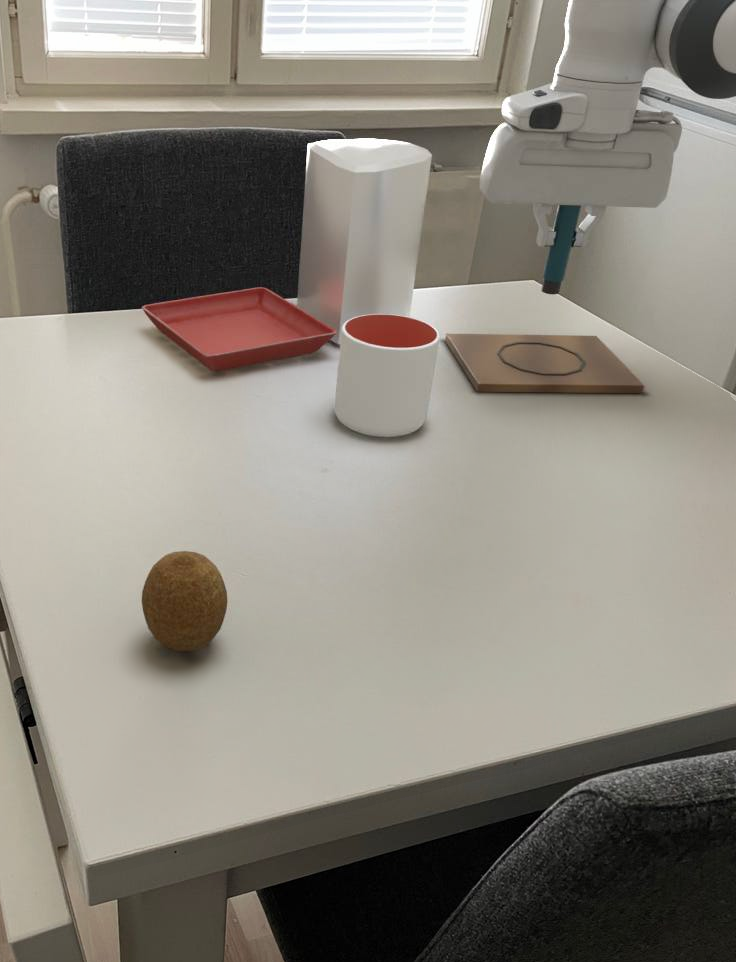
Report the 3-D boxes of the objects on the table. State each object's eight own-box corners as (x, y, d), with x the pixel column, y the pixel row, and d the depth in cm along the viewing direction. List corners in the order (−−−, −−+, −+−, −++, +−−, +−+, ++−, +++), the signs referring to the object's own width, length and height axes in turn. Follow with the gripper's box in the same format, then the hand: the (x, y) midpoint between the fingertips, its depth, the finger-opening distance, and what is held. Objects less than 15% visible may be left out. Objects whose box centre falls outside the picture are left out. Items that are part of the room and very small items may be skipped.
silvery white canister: (290, 307, 135) (302, 128, 121) (386, 300, 139) (407, 126, 125) (331, 348, 123) (349, 156, 110) (434, 339, 127) (463, 153, 114)
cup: (444, 429, 106) (460, 338, 100) (372, 450, 101) (385, 355, 95) (384, 395, 113) (396, 307, 107) (314, 413, 108) (322, 322, 102)
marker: (556, 288, 115) (584, 167, 107) (563, 295, 113) (592, 173, 105) (536, 288, 115) (563, 167, 107) (543, 295, 113) (570, 172, 105)
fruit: (144, 620, 76) (141, 531, 72) (224, 620, 77) (227, 532, 72) (141, 671, 72) (138, 579, 67) (227, 671, 72) (230, 580, 67)
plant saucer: (206, 382, 113) (206, 354, 111) (139, 330, 125) (139, 303, 123) (337, 358, 121) (339, 331, 119) (262, 311, 133) (263, 286, 131)
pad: (594, 343, 129) (596, 334, 128) (642, 393, 116) (645, 384, 116) (444, 340, 127) (446, 332, 127) (476, 392, 115) (478, 383, 114)
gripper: (674, 106, 106) (637, 240, 115) (489, 99, 104) (465, 235, 113) (700, 117, 101) (659, 256, 110) (505, 110, 99) (480, 252, 108)
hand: (560, 246), depth 111 cm, fingers closed on marker, 2 cm apart
